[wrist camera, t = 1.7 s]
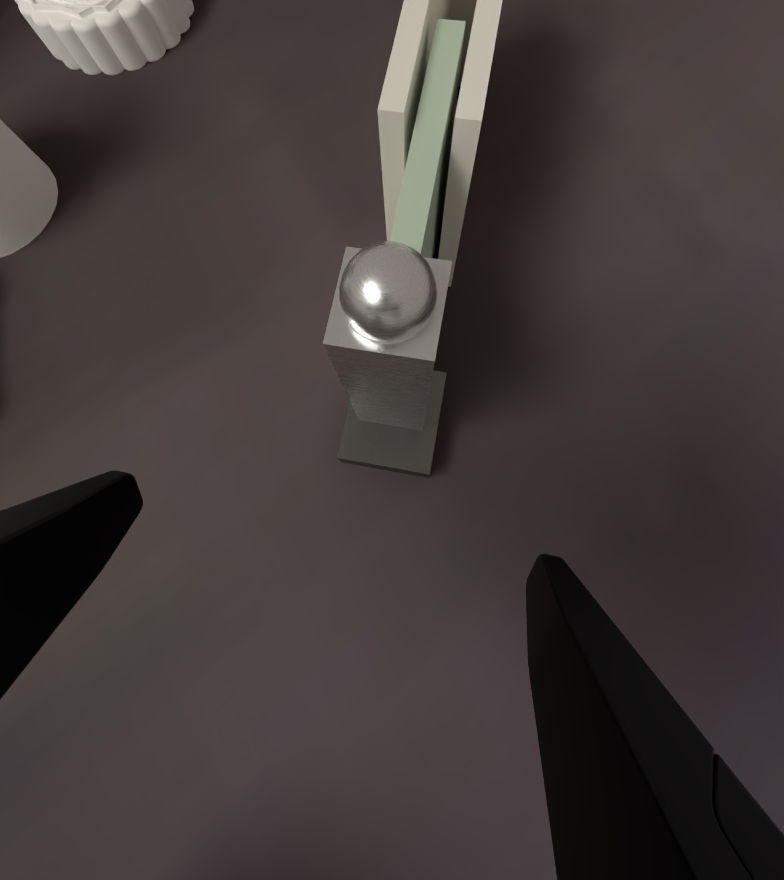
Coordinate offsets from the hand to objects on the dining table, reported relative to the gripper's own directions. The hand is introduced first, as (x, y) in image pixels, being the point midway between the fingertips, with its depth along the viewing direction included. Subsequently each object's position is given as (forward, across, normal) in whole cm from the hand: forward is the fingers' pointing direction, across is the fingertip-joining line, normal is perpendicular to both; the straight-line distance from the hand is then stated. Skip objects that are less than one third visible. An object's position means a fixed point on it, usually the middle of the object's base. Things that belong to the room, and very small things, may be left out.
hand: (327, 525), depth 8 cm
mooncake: (+34, +28, -15) cm, 46 cm away
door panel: (+20, 0, -2) cm, 20 cm away
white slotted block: (+26, 0, -8) cm, 27 cm away
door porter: (+13, 0, +5) cm, 14 cm away
